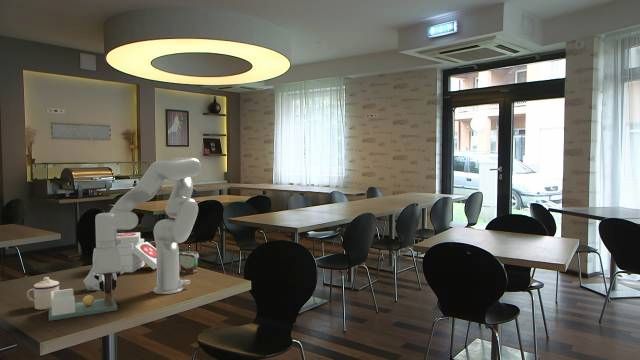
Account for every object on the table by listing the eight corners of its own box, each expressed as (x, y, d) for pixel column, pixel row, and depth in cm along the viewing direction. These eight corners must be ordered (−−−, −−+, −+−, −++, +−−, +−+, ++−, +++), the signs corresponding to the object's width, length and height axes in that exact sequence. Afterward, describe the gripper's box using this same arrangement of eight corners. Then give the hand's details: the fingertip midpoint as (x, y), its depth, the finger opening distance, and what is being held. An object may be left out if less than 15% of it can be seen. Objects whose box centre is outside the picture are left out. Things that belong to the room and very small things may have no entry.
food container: (204, 271, 241) (204, 252, 241) (195, 274, 236) (194, 254, 236) (187, 268, 248) (187, 250, 247) (178, 271, 243) (178, 252, 242)
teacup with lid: (64, 302, 191) (63, 274, 190) (53, 309, 182) (52, 280, 181) (34, 303, 190) (33, 275, 190) (21, 310, 181) (20, 281, 180)
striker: (110, 298, 190) (109, 271, 190) (113, 304, 182) (112, 276, 181) (103, 299, 189) (102, 272, 189) (106, 305, 180) (105, 277, 180)
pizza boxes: (155, 273, 239) (155, 238, 238) (98, 272, 240) (97, 238, 240) (169, 264, 258) (168, 232, 257) (116, 264, 259) (115, 232, 259)
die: (91, 294, 204) (105, 275, 206) (76, 284, 205) (90, 265, 208) (99, 296, 211) (113, 277, 214) (84, 286, 213) (98, 268, 215)
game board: (113, 300, 192) (112, 283, 192) (117, 310, 181) (116, 291, 180) (48, 310, 181) (48, 291, 181) (48, 320, 169) (48, 300, 169)
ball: (93, 303, 185) (93, 293, 184) (94, 306, 181) (94, 296, 181) (82, 305, 183) (82, 295, 182) (83, 307, 179) (82, 297, 179)
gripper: (127, 240, 192) (128, 285, 192) (82, 244, 183) (84, 291, 184) (130, 243, 185) (131, 289, 186) (83, 248, 177) (85, 295, 178)
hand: (107, 289), depth 185 cm, fingers open, 3 cm apart
